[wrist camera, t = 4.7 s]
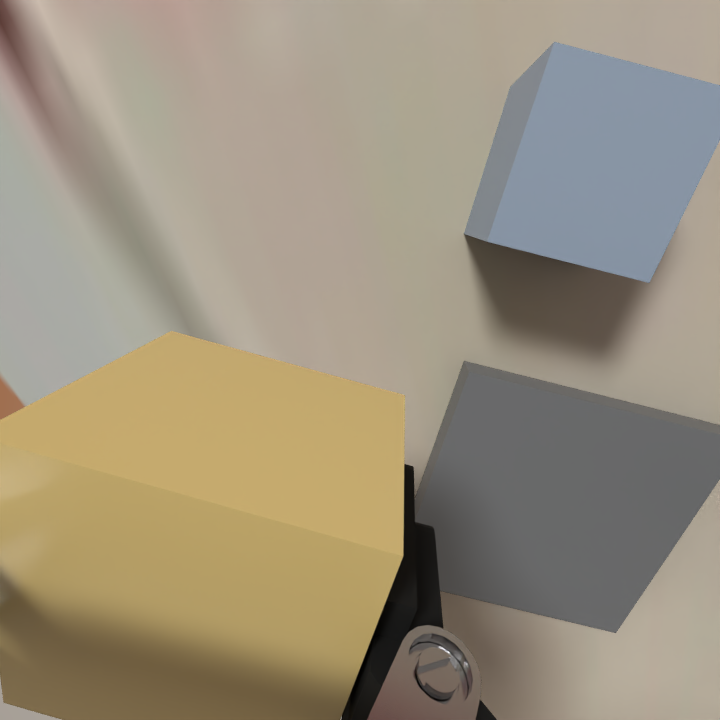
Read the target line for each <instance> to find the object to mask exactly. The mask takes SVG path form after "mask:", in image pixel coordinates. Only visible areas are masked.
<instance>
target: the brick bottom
mask: <svg viewBox="0 0 720 720" xmlns="http://www.w3.org/2000/svg"><path fill="white" fill-rule="evenodd" d="M404 435H405V395H402V394H398V393H395V392H391V391H387V390H384V389H380V388H376V387H373V386H369V385H366V384H362V383H358V382H355V381H351V380H347V379H344V378H340V377H337V376H333V375H329V374H326V373H322V372H318V371H315V370H311V369H307V368H304V367H300V366H297V365H293V364H289V363H286V362H282V361H278V360H275V359H271V358H267V357H264V356H260V355H257V354H253V353H249V352H246V351H242V350H238V349H235V348H231V347H227V346H224V345H220V344H217V343H213V342H209V341H206V340H202V339H198V338H195V337H191V336H188V335H184V334H180V333H177V332H173V331H171V332H169V333H167V334H165V335H163V336H161V337H159V338H157V339H155V340H153V341H151V342H149V343H147V344H146V345H144V346H142V347H140V348H138V349H136V350H134V351H132V352H130V353H128V354H126V355H124V356H122V357H121V358H119V359H117V360H115V361H113V362H111V363H109V364H107V365H105V366H103V367H101V368H99V369H98V370H96V371H94V372H92V373H90V374H88V375H86V376H84V377H82V378H80V379H78V380H76V381H74V382H73V383H71V384H69V385H67V386H65V387H63V388H61V389H59V390H57V391H55V392H53V393H51V394H49V395H48V396H46V397H44V398H42V399H40V400H38V401H36V402H34V403H32V404H30V405H28V406H26V407H24V408H23V409H21V410H19V411H17V412H15V413H13V414H11V415H9V416H7V417H5V418H3V419H1V420H0V677H1V685H2V694H3V702H4V703H7V704H10V705H14V706H17V707H20V708H24V709H27V710H31V711H34V712H38V713H41V714H45V715H48V716H52V717H55V718H59V719H62V720H340V719H341V716H342V714H343V711H344V709H345V706H346V703H347V701H348V698H349V696H350V693H351V690H352V688H353V685H354V683H355V680H356V677H357V675H358V672H359V670H360V667H361V664H362V662H363V659H364V657H365V654H366V652H367V649H368V646H369V644H370V641H371V639H372V636H373V633H374V631H375V628H376V626H377V623H378V620H379V618H380V615H381V613H382V610H383V608H384V605H385V602H386V600H387V597H388V595H389V592H390V589H391V587H392V584H393V582H394V579H395V576H396V574H397V571H398V569H399V566H400V563H401V561H402V558H403V537H404Z"/></svg>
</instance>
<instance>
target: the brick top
mask: <svg viewBox="0 0 720 720" xmlns="http://www.w3.org/2000/svg"><path fill="white" fill-rule="evenodd" d="M719 140H720V85H716V84H713V83H709V82H705V81H701V80H697V79H694V78H690V77H686V76H682V75H678V74H675V73H671V72H667V71H663V70H659V69H656V68H652V67H648V66H644V65H640V64H637V63H633V62H629V61H625V60H621V59H618V58H614V57H610V56H606V55H602V54H599V53H595V52H591V51H587V50H583V49H579V48H576V47H572V46H568V45H564V44H560V43H557V42H554V43H553V44H552V45H551V46H550V47H549V48H548V49H547V50H546V51H545V52H544V53H543V54H542V55H541V56H540V57H539V58H538V59H537V60H536V61H535V62H534V63H533V64H532V65H531V66H530V67H529V68H528V69H527V70H526V71H525V72H524V73H523V74H522V75H521V77H520V78H519V79H518V80H517V81H516V82H515V83H514V84H513V85H512V86H511V87H510V89H509V93H508V96H507V99H506V102H505V105H504V108H503V112H502V115H501V118H500V121H499V124H498V127H497V131H496V134H495V137H494V140H493V143H492V147H491V150H490V153H489V156H488V159H487V162H486V166H485V169H484V172H483V175H482V178H481V181H480V185H479V188H478V191H477V194H476V197H475V200H474V204H473V207H472V210H471V213H470V216H469V219H468V223H467V226H466V229H465V232H464V234H466V235H469V236H472V237H475V238H478V239H481V240H484V241H486V242H490V243H494V244H498V245H502V246H506V247H510V248H514V249H518V250H522V251H526V252H530V253H534V254H537V255H541V256H545V257H549V258H553V259H557V260H561V261H565V262H569V263H573V264H577V265H581V266H585V267H589V268H593V269H597V270H600V271H604V272H608V273H612V274H616V275H620V276H624V277H628V278H632V279H636V280H640V281H644V282H648V283H650V280H651V278H652V276H653V274H654V272H655V270H656V268H657V266H658V264H659V262H660V260H661V258H662V256H663V254H664V252H665V250H666V248H667V246H668V244H669V242H670V240H671V238H672V236H673V234H674V232H675V230H676V228H677V226H678V224H679V222H680V220H681V218H682V216H683V214H684V211H685V209H686V207H687V205H688V203H689V201H690V199H691V197H692V195H693V193H694V191H695V189H696V187H697V185H698V183H699V181H700V179H701V177H702V175H703V173H704V171H705V169H706V167H707V165H708V163H709V161H710V159H711V157H712V155H713V153H714V151H715V149H716V147H717V145H718V142H719Z"/></svg>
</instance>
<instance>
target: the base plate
mask: <svg viewBox="0 0 720 720" xmlns="http://www.w3.org/2000/svg"><path fill="white" fill-rule="evenodd" d="M719 480H720V425H717V424H713V423H709V422H705V421H701V420H697V419H693V418H689V417H685V416H681V415H677V414H673V413H669V412H665V411H661V410H657V409H653V408H650V407H646V406H642V405H638V404H634V403H630V402H626V401H622V400H618V399H614V398H610V397H606V396H602V395H598V394H594V393H590V392H586V391H582V390H578V389H574V388H570V387H566V386H562V385H558V384H554V383H550V382H546V381H542V380H538V379H534V378H530V377H526V376H522V375H518V374H514V373H510V372H506V371H502V370H498V369H494V368H490V367H486V366H482V365H478V364H474V363H470V362H466V361H464V362H463V365H462V368H461V371H460V374H459V377H458V379H457V382H456V385H455V388H454V391H453V393H452V396H451V399H450V402H449V405H448V407H447V410H446V413H445V416H444V419H443V422H442V424H441V427H440V430H439V433H438V436H437V438H436V441H435V444H434V447H433V450H432V452H431V455H430V458H429V461H428V464H427V467H426V469H425V472H424V475H423V478H422V481H421V483H420V486H419V489H418V492H417V495H416V497H415V500H414V501H415V522H418V523H421V524H425V525H429V526H432V527H433V528H434V531H435V539H436V551H437V562H438V574H439V586H440V591H443V592H447V593H452V594H456V595H460V596H464V597H468V598H472V599H476V600H481V601H485V602H489V603H493V604H497V605H501V606H506V607H510V608H514V609H518V610H522V611H526V612H531V613H535V614H539V615H543V616H547V617H551V618H555V619H560V620H564V621H568V622H572V623H576V624H580V625H585V626H589V627H593V628H597V629H601V630H605V631H610V632H614V633H616V632H617V631H618V629H619V628H620V626H621V625H622V623H623V622H624V620H625V619H626V617H627V616H628V614H629V613H630V611H631V610H632V608H633V607H634V605H635V604H636V603H637V601H638V600H639V598H640V597H641V595H642V594H643V592H644V591H645V589H646V588H647V586H648V585H649V583H650V582H651V580H652V579H653V577H654V576H655V574H656V573H657V571H658V570H659V568H660V567H661V565H662V564H663V563H664V561H665V560H666V558H667V557H668V555H669V554H670V552H671V551H672V549H673V548H674V546H675V545H676V543H677V542H678V540H679V539H680V537H681V536H682V534H683V533H684V531H685V530H686V528H687V527H688V525H689V524H690V523H691V521H692V520H693V518H694V517H695V515H696V514H697V512H698V511H699V509H700V508H701V506H702V505H703V503H704V502H705V500H706V499H707V497H708V496H709V494H710V493H711V491H712V490H713V488H714V487H715V486H716V484H717V483H718V481H719Z"/></svg>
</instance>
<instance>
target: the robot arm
mask: <svg viewBox="0 0 720 720" xmlns="http://www.w3.org/2000/svg"><path fill="white" fill-rule="evenodd" d="M481 683H482V680H481V676H480V672H479V668H478V665H477V663H476V661H475V659H474V657H473V655H472V653H471V652H470V651H469V649H468V648H467V647H466V646H465V644H464V643H463V642H462V641H461V640H460V639H458V638H457V637H456V636H455V635H453V634H452V633H451V632H449V631H447V630H445V629H443V620H442V609H441V597H440V586H439V574H438V562H437V551H436V539H435V531H434V528H433V527H432V526H429V525H425V524H421V523H418V522H415V501H414V468H413V466H409V465H406V464H404V537H403V558H402V561H401V563H400V566H399V569H398V571H397V574H396V576H395V579H394V582H393V584H392V587H391V589H390V592H389V595H388V597H387V600H386V602H385V605H384V608H383V610H382V613H381V615H380V618H379V620H378V623H377V626H376V628H375V631H374V633H373V636H372V639H371V641H370V644H369V646H368V649H367V652H366V654H365V657H364V659H363V662H362V664H361V667H360V670H359V672H358V675H357V677H356V680H355V683H354V685H353V688H352V690H351V693H350V696H349V698H348V701H347V703H346V706H345V709H344V711H343V714H342V719H341V720H496V718H495V717H494V716H493V715H492V713H491V712H490V711H489V710H488V709H487V707H486V706H485V705H484V704H483V702H482V701H481V700H480V697H481Z"/></svg>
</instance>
